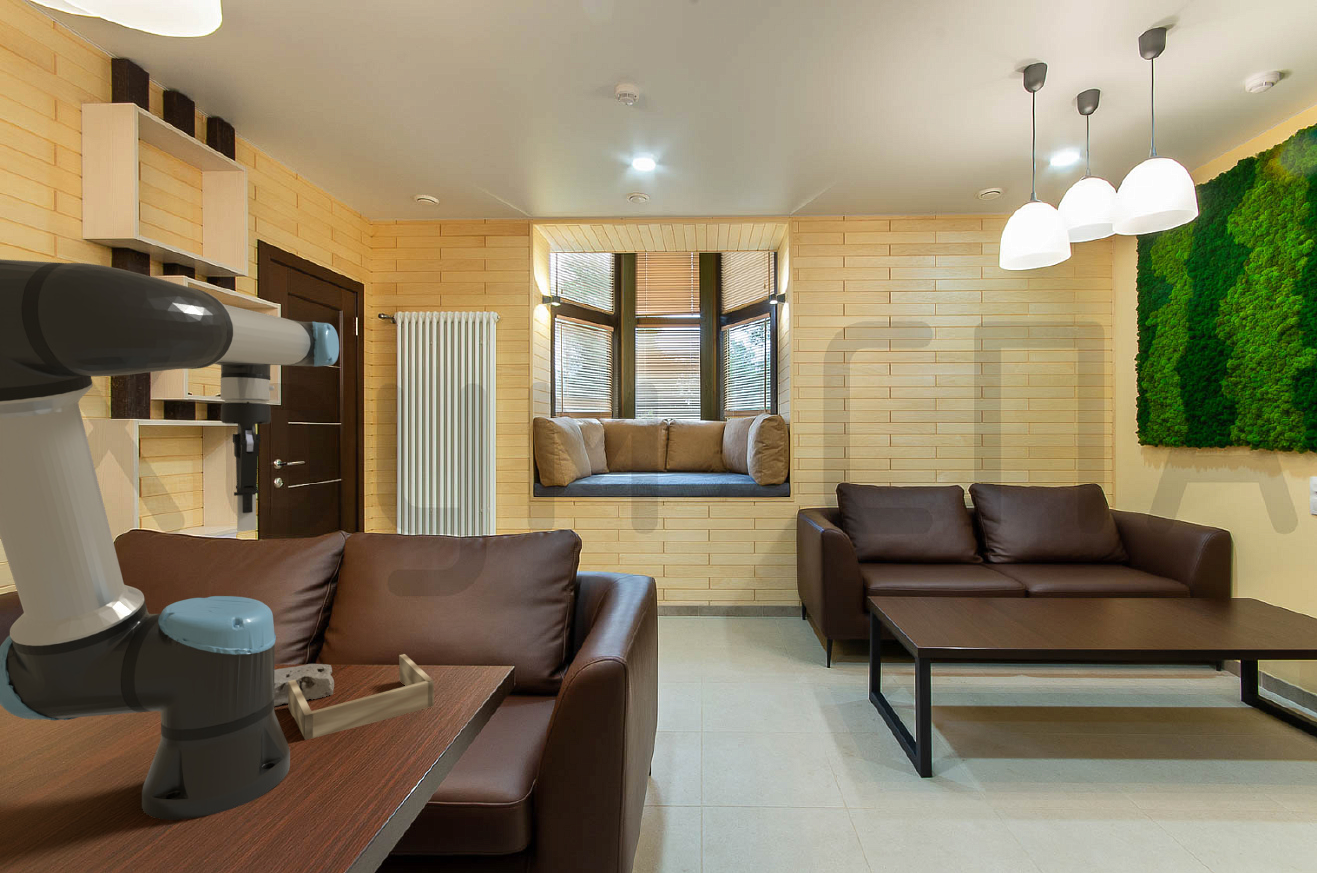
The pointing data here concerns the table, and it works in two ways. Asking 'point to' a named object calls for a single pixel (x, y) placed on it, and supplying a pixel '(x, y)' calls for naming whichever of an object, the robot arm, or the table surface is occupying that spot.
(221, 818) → the table surface
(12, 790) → the table surface
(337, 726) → the bracket
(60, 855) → the table surface
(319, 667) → the stone
